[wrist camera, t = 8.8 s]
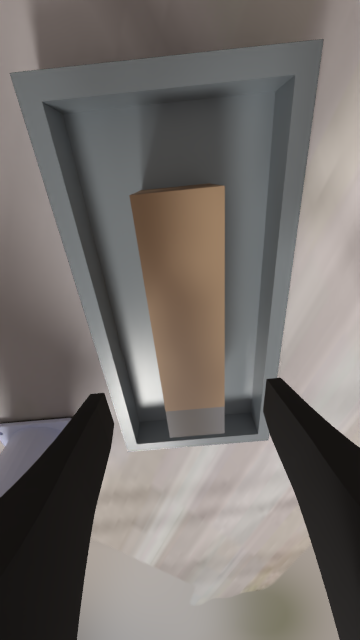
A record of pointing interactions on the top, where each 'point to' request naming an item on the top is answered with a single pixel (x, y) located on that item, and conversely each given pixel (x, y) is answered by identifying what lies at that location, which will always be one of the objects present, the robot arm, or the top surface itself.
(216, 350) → the strut
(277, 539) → the top surface
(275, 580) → the top surface
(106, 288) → the tray
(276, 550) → the top surface
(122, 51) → the top surface
